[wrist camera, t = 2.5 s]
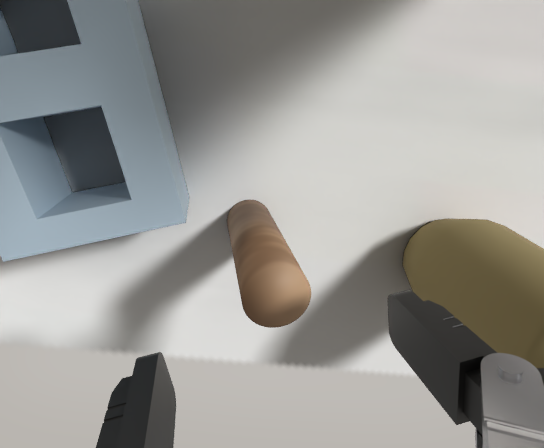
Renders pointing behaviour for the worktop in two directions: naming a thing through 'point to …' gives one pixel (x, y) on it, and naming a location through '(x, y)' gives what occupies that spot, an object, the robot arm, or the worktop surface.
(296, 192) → the worktop surface
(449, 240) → the squeeze bottle
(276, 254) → the dowel
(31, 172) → the socket block
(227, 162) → the worktop surface
